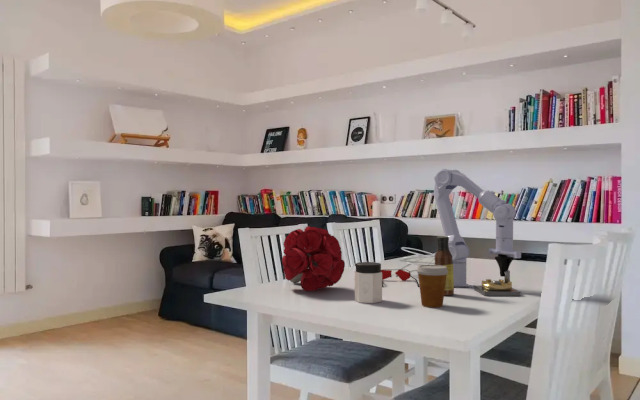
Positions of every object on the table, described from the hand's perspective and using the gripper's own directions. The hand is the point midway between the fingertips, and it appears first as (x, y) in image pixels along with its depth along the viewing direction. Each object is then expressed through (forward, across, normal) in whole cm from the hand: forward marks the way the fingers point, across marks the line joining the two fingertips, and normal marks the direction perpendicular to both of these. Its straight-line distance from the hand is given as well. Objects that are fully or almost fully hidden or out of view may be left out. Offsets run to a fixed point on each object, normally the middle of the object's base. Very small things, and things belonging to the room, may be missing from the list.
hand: (504, 276), depth 181 cm
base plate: (+5, +1, -4) cm, 7 cm away
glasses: (+6, -28, -28) cm, 39 cm away
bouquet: (+6, -29, -63) cm, 69 cm away
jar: (+6, -2, -52) cm, 53 cm away
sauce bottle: (+6, -2, -23) cm, 24 cm away
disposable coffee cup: (+5, +12, -37) cm, 39 cm away
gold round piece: (+4, +1, -4) cm, 6 cm away
